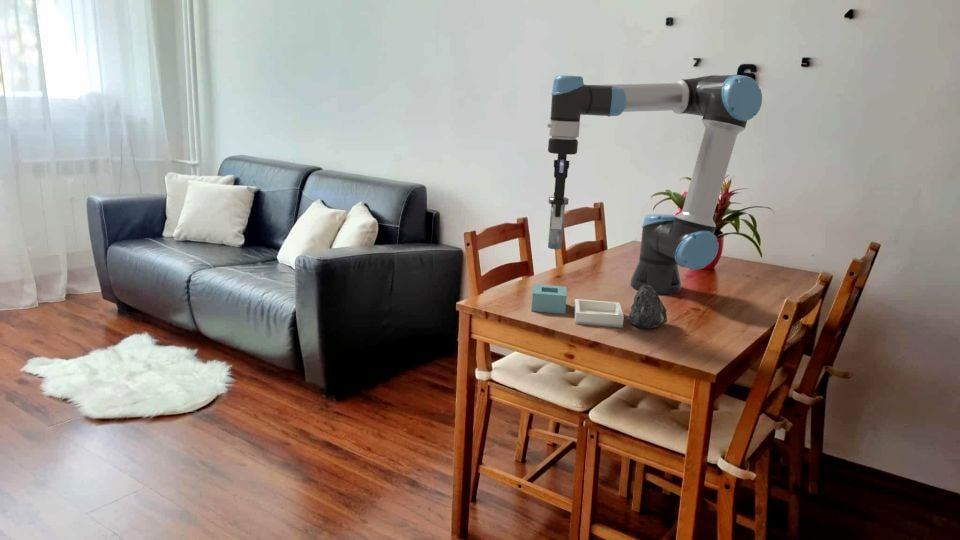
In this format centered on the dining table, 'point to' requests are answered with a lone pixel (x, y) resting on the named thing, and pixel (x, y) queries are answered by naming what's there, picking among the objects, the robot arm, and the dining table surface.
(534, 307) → the socket block
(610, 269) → the dining table surface
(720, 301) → the dining table surface
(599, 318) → the tray
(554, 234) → the pin
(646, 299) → the rock
